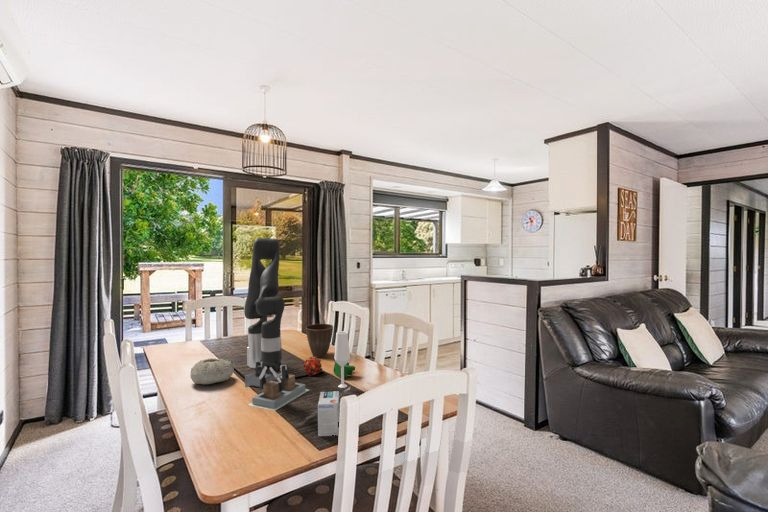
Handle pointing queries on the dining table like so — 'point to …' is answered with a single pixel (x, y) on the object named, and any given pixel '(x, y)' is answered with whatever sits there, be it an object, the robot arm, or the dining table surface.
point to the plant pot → (319, 338)
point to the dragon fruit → (312, 366)
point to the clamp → (347, 370)
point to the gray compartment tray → (280, 401)
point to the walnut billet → (271, 390)
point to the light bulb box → (328, 413)
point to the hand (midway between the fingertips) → (272, 389)
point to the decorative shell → (211, 371)
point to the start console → (257, 379)
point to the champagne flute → (342, 354)
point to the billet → (289, 383)
